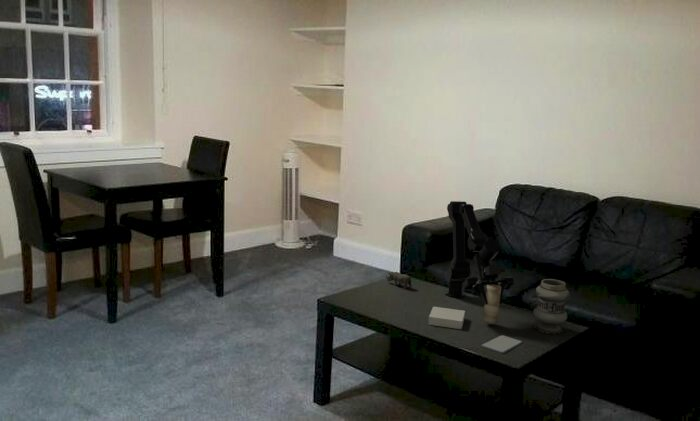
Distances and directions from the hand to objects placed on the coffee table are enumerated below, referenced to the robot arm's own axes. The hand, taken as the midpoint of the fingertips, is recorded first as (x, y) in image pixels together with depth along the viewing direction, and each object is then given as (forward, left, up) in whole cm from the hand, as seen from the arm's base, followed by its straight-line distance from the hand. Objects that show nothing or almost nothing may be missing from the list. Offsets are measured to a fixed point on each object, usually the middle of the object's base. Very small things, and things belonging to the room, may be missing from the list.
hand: (493, 304), depth 244 cm
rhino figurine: (-14, -52, -9) cm, 55 cm away
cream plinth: (+8, -14, -8) cm, 18 cm away
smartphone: (+13, +11, -9) cm, 19 cm away
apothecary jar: (-14, +16, -9) cm, 23 cm away
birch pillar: (-1, -1, -7) cm, 7 cm away
